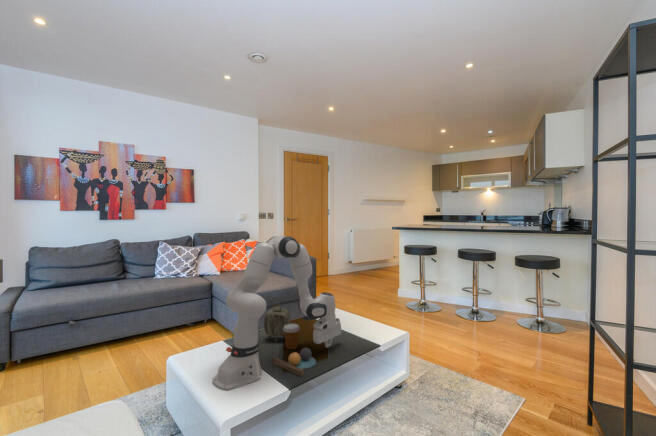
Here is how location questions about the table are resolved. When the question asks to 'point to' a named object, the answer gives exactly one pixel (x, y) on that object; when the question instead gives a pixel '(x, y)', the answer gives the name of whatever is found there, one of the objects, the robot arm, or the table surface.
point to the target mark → (306, 363)
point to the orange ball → (294, 358)
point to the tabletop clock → (276, 320)
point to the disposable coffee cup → (291, 335)
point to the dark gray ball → (305, 353)
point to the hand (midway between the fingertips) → (328, 346)
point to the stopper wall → (288, 367)
